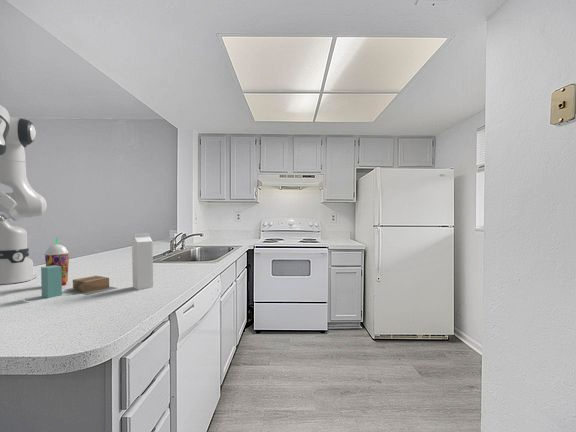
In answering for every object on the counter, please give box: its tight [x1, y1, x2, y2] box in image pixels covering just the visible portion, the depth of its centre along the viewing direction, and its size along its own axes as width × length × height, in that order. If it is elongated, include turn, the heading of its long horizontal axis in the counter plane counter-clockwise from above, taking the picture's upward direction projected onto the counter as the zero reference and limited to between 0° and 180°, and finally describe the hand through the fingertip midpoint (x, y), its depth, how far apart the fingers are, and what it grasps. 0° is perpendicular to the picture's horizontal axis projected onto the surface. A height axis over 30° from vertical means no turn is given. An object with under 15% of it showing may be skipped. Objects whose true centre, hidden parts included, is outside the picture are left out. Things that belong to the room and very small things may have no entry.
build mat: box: [64, 285, 118, 296], centre depth 131 cm, size 16×12×1 cm
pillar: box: [40, 265, 63, 299], centre depth 121 cm, size 4×4×11 cm
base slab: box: [72, 275, 110, 293], centre depth 131 cm, size 9×9×4 cm
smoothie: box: [44, 237, 70, 287], centre depth 138 cm, size 8×8×20 cm
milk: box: [131, 232, 154, 290], centre depth 134 cm, size 6×6×22 cm
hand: (11, 219), depth 110 cm, fingers open, 8 cm apart
